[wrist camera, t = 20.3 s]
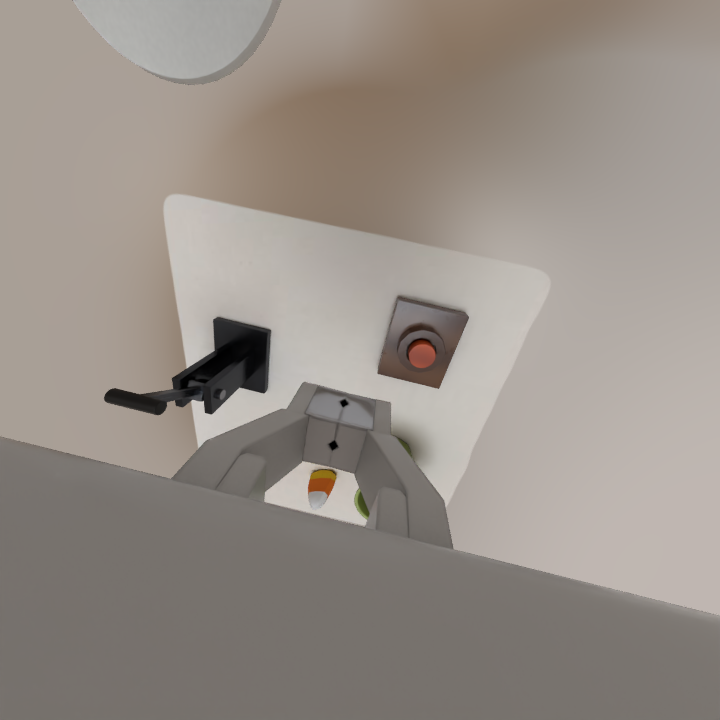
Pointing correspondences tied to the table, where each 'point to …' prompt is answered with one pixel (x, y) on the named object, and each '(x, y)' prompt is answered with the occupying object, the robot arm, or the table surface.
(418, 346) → the button
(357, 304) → the table surface
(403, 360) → the button block
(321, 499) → the candy corn
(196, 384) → the lever
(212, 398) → the bracket
